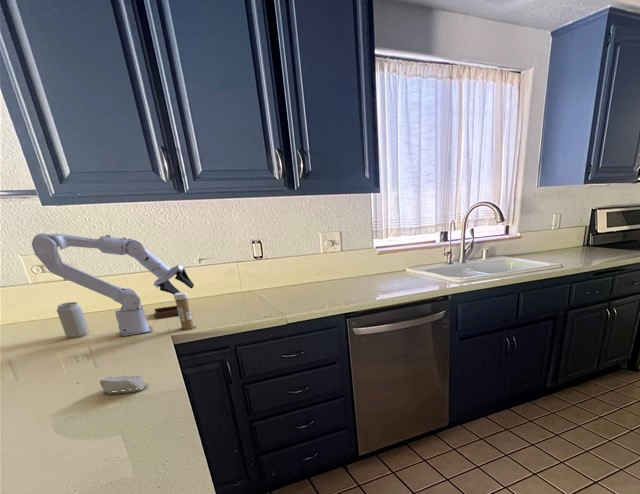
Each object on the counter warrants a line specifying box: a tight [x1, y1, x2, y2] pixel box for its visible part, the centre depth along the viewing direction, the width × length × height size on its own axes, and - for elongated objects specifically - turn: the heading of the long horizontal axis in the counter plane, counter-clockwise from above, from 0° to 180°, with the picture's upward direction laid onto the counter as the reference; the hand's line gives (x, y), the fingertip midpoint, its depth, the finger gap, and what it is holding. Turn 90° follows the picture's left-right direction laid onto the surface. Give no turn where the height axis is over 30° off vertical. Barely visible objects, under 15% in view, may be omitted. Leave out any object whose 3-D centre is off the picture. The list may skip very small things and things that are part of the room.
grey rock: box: [99, 375, 146, 395], centre depth 115 cm, size 10×6×6 cm, turn 91°
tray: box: [154, 305, 179, 319], centre depth 184 cm, size 11×9×2 cm
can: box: [56, 301, 90, 339], centre depth 158 cm, size 8×8×12 cm
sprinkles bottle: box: [173, 291, 195, 330], centre depth 163 cm, size 5×5×14 cm
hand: (186, 290), depth 168 cm, fingers open, 7 cm apart
